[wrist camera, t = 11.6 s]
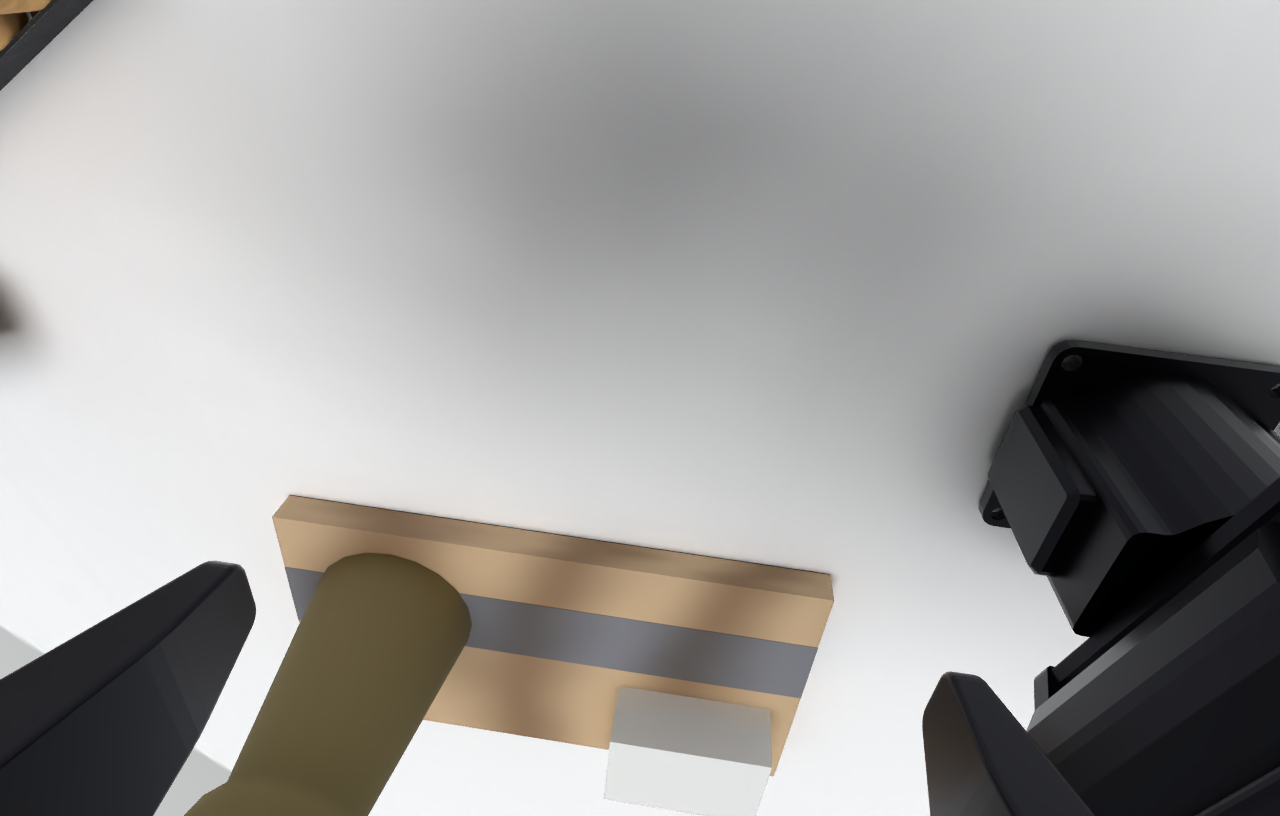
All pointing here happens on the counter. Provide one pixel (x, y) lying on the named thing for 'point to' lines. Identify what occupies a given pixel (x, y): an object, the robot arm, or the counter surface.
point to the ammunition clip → (31, 30)
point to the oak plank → (581, 619)
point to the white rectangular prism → (688, 754)
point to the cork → (347, 692)
